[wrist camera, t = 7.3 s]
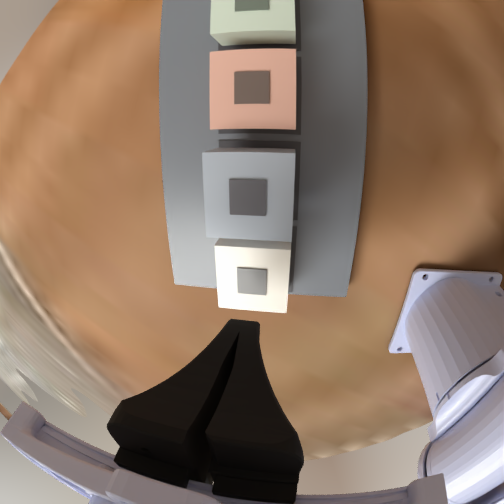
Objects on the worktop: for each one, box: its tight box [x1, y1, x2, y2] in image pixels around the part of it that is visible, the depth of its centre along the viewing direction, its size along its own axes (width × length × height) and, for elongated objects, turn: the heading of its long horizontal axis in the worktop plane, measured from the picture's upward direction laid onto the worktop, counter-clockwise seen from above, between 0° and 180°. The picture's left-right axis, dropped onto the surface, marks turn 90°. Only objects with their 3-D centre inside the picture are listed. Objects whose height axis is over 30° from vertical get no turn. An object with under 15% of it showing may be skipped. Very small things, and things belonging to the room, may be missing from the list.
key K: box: [202, 148, 295, 242], centre depth 13 cm, size 4×4×2 cm
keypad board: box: [159, 0, 367, 297], centre depth 15 cm, size 12×20×1 cm, turn 0°
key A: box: [214, 238, 291, 313], centre depth 17 cm, size 4×4×2 cm
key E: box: [210, 0, 296, 46], centre depth 10 cm, size 4×4×2 cm
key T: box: [210, 49, 296, 130], centre depth 12 cm, size 4×4×2 cm
